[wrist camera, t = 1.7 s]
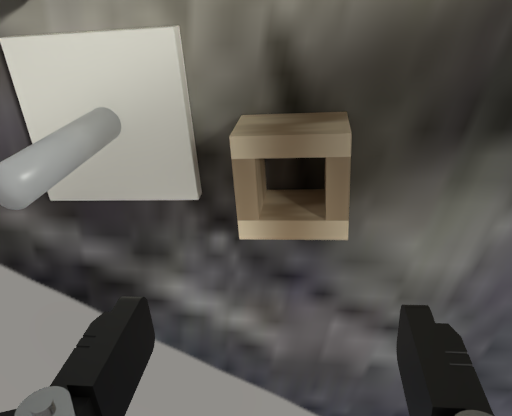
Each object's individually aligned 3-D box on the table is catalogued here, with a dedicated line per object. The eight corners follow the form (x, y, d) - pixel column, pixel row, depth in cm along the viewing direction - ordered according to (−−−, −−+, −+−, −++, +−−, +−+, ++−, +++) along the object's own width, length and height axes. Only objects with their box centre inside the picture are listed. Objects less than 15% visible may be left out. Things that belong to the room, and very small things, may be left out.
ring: (346, 111, 24) (351, 133, 21) (343, 206, 27) (347, 240, 24) (241, 114, 25) (229, 136, 22) (249, 206, 28) (239, 239, 24)
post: (179, 25, 23) (95, 51, 15) (202, 193, 28) (148, 290, 19) (10, 36, 25) (-160, 65, 16) (58, 194, 29) (-53, 285, 20)
